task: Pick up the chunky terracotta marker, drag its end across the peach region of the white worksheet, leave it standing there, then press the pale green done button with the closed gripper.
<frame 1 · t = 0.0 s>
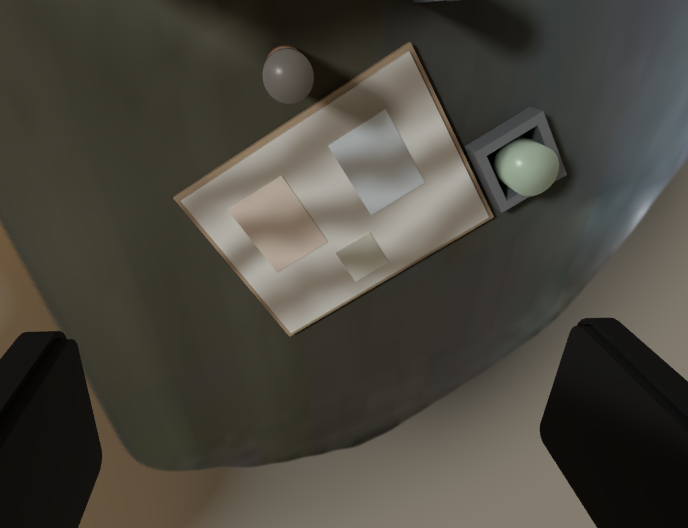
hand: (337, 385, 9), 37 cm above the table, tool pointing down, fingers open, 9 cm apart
worksheet: (341, 205, 47), on the table
done button: (525, 166, 44), point 3 cm above the table, slide at 0.0 cm
button housing: (510, 157, 47), on the table
marker terracotta: (285, 64, 41), on the table
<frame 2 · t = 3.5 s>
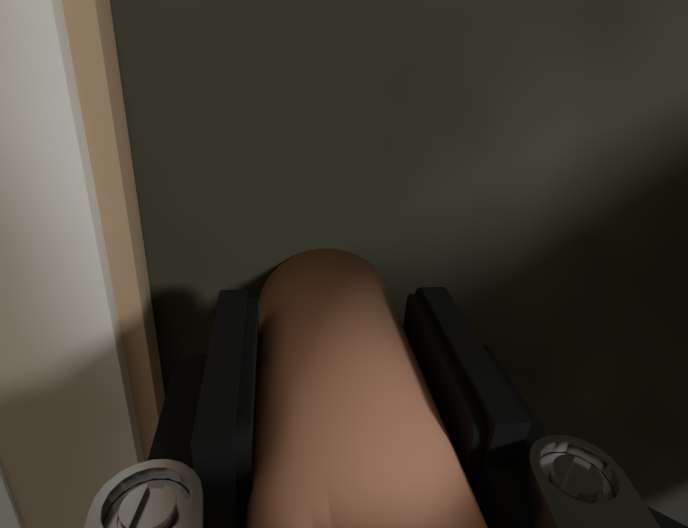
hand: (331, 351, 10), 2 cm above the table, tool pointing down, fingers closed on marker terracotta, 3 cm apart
marker terracotta: (324, 308, 12), on the table, touching gripper
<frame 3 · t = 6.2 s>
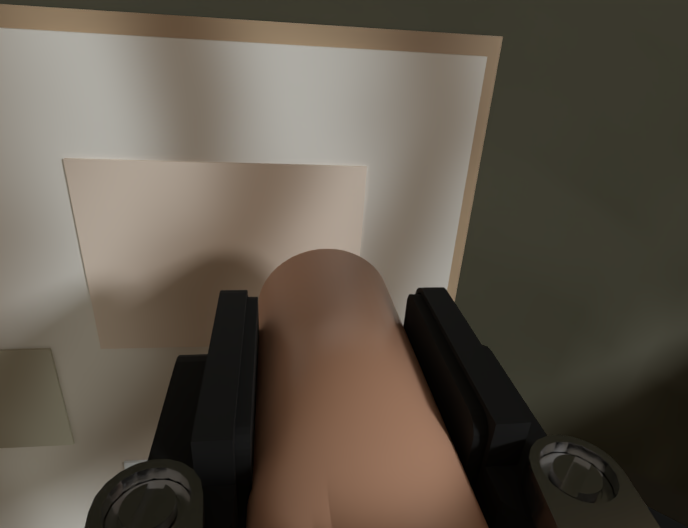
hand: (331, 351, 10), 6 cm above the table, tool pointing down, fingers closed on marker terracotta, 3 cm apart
worksheet: (182, 393, 18), on the table
marker terracotta: (324, 308, 12), point 4 cm above the table, touching gripper
when the fingers open (3 cm above the table, at t = 9.0 s): marker terracotta stays where it is, resting on worksheet.
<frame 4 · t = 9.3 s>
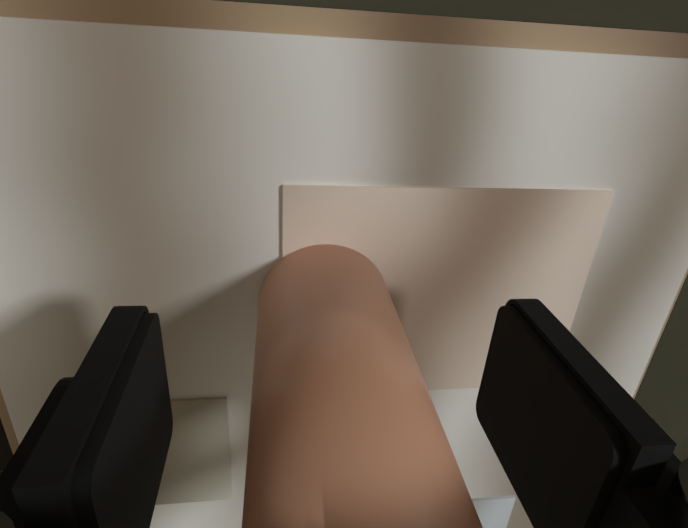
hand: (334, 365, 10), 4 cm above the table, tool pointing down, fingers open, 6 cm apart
worksheet: (342, 436, 16), on the table
marker terracotta: (323, 302, 12), point 1 cm above the table, touching worksheet
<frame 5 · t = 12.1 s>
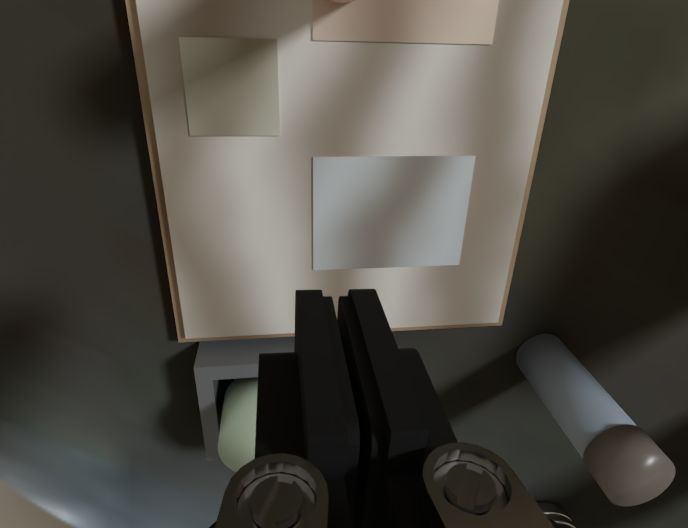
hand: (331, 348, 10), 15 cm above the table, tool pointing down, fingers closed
water bottle: (526, 523, 40), on the table
worksheet: (352, 108, 23), on the table
done button: (262, 422, 27), point 3 cm above the table, slide at 0.0 cm
button housing: (263, 383, 30), on the table
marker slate: (539, 353, 32), on the table
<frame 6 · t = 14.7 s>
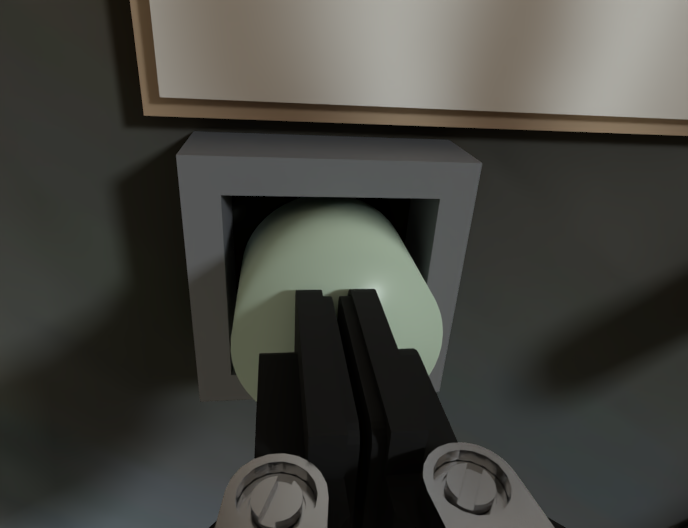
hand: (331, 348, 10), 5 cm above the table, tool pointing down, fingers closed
done button: (331, 305, 12), point 3 cm above the table, slide at 0.1 cm, touching gripper
button housing: (321, 251, 15), on the table
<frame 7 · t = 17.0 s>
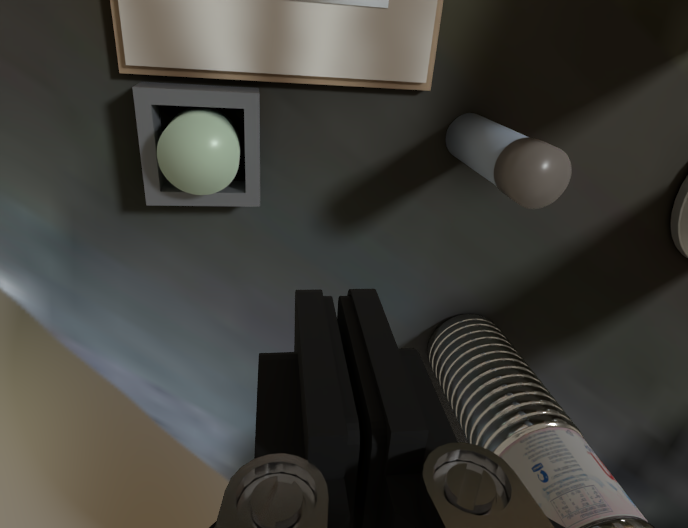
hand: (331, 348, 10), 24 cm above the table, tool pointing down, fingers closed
water bottle: (460, 341, 43), on the table
done button: (201, 149, 29), point 2 cm above the table, slide at 1.1 cm
button housing: (204, 141, 31), on the table
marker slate: (467, 136, 34), on the table
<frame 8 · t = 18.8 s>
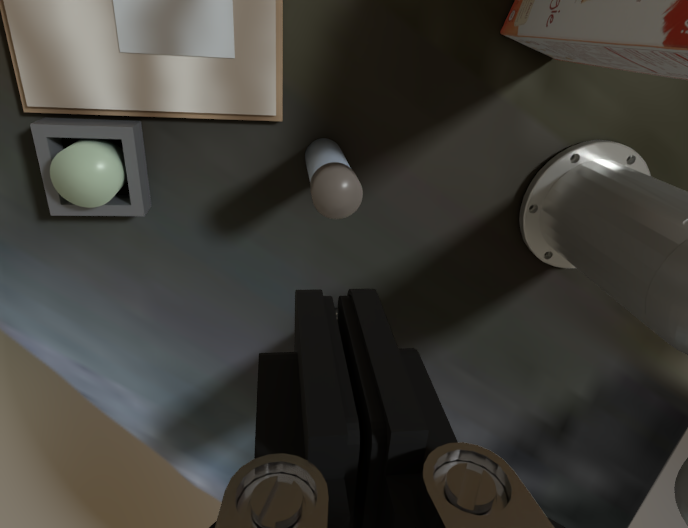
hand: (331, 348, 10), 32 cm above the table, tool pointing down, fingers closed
done button: (92, 171, 37), point 2 cm above the table, slide at 1.1 cm
button housing: (100, 163, 39), on the table
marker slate: (323, 157, 41), on the table
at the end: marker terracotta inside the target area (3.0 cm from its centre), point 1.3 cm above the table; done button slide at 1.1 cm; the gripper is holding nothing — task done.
